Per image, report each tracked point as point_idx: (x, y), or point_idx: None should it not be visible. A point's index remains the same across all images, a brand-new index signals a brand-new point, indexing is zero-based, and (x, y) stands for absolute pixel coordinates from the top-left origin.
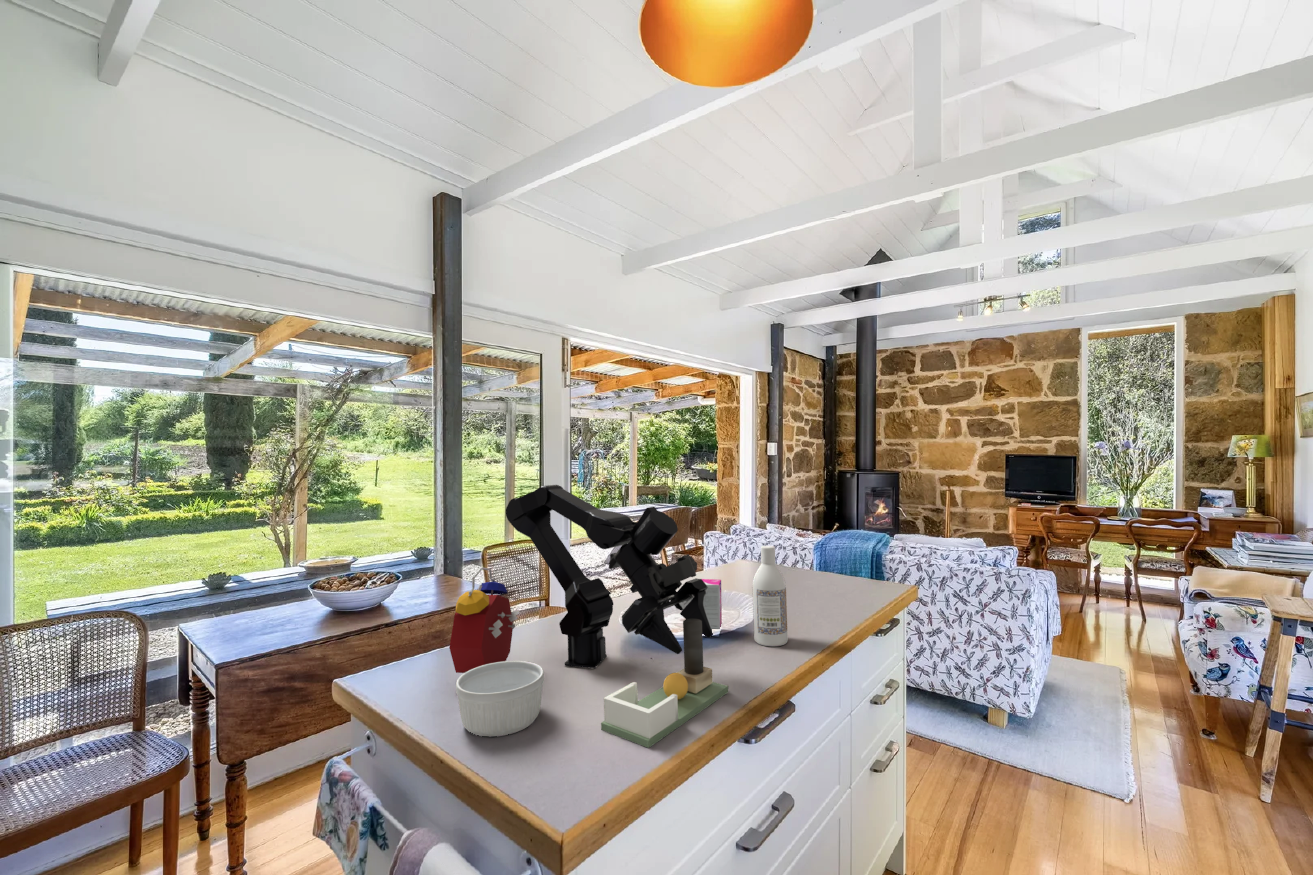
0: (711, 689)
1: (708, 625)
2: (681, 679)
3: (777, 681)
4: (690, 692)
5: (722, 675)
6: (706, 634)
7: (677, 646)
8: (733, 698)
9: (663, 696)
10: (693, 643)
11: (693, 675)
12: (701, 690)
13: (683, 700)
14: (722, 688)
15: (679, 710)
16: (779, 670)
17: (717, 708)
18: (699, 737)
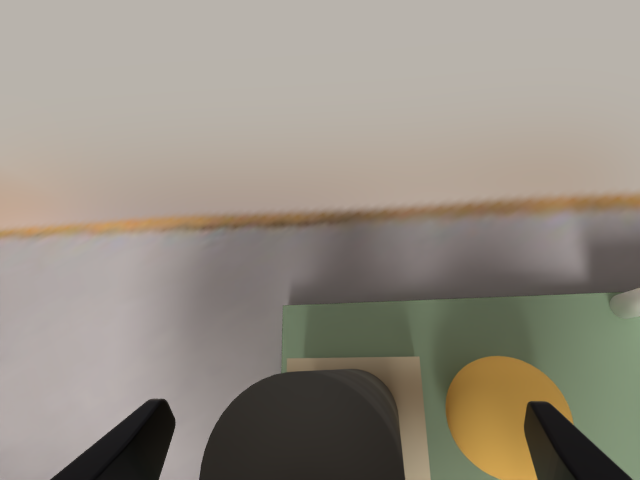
0: (338, 339)
1: (107, 446)
2: (517, 375)
3: (150, 231)
4: None
5: (180, 403)
6: (163, 443)
7: (575, 431)
8: (318, 271)
9: None
10: (383, 398)
11: (396, 386)
12: None
13: None
14: (310, 311)
15: (557, 334)
16: (76, 266)
17: (407, 272)
18: (597, 208)
